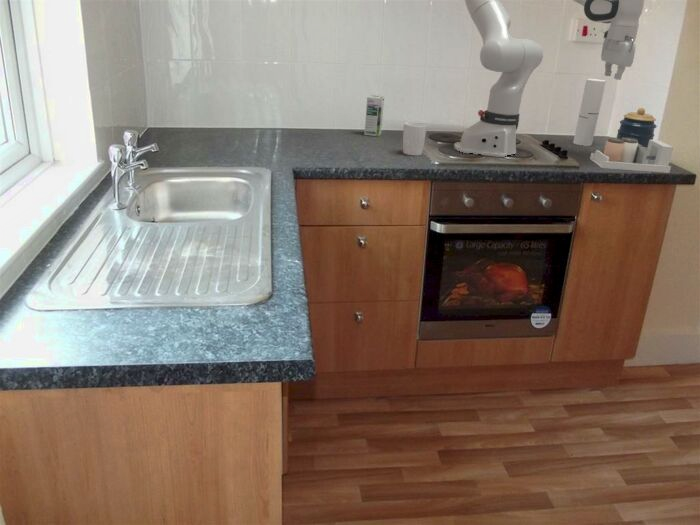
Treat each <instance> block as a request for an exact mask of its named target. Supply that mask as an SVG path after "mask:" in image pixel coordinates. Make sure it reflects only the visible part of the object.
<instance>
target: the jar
mask: <svg viewBox="0 0 700 525" xmlns="http://www.w3.org/2000/svg"><path fill="white" fill-rule="evenodd" d="M624 145H625V143H624V139H621V138H617V137H613V136H609V137H608V139H607V140H606V141H605V145H604V150H603V154H605V155H606V156H608V157H609V161H610V162H621V157H622V153H623V149H624Z"/></svg>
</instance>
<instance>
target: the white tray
mask: <svg viewBox="0 0 700 525" xmlns="http://www.w3.org/2000/svg"><path fill="white" fill-rule="evenodd" d="M647 148H648V153H647V155H650V156H656V159H655V160H648V159H646V161H645V164H637V163H623V162H610V161H609V157H608V156H606V155H605V154H604V152H602V151H600V150H599V149H595V152H591V153H590V156H589V160H590V161H592V162H594V163H595V164H596V165H598V166H599V167H600V168H601V169H609V170H623V171H634V172H651V173H663V174H664V173H665V174H670V172H671V168H672V166H671V165H669V164H670V162H671V157H672V153H673V150H674V146H671V145H669V143H665V142H663V141H661V140H660V139H659V140H658V139H653V140H649V143H648V147H647Z"/></svg>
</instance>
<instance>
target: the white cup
mask: <svg viewBox="0 0 700 525" xmlns="http://www.w3.org/2000/svg"><path fill="white" fill-rule="evenodd" d="M427 130H428V124H425V123H424V122H416V121H409V122H408V121H406V122H404V123H403V135H402V138H403V139H402V153H403V154H405V155H408V156H422V155H423V149H424V146H425V142H426V136H427V135H426V134H427Z"/></svg>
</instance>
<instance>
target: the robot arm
mask: <svg viewBox="0 0 700 525" xmlns="http://www.w3.org/2000/svg"><path fill="white" fill-rule="evenodd" d="M572 1H573V2H575V3H577V4H579V5H581V6H583V12H584V15H585V16H586V19H588V20H590V21H591V22H594V23H602V24H609V28H608V29H607V30H606V31H604V33H603V43H602V49H601V54H600V57H601V61H603V62H605V64H604V69H605V70H604V76H606V77H611V75H612V72H613V70H612V67H613V65H616V66H617V71H616V73H614V77H613V79H614V80H617V81H620V80H621V79H622V76H623V73H624V72H625V71H626V68H631V67H632V66H633V63H634V59H635V53H636V44H635V42H636V39H637V36H638V30H639V22H640V21H639V20H640V18H641V15H642V13H643V10H644V3H645V0H572ZM464 2H465V5H466V8H467V12H468V13H469V15H470V18H471V20H472V22H473V23H474V25H475V27H476V29H477V31H478V32H479V35H480V37H481V39H482V47H481V49H480V53H479V60H480V63H481V65H482V67H483V68H485V69H486V70H488V71H491V72H492V71H493V72H494V73H495V72H496V73H501V74H500V76H499V78H498V80H497V81H496V82H495V83H494V84H493V85H492V86H491V87H490V89H489V90H490V91H489V97H488V102H487V110H483V109H482V110H481V109H480V110H478V111H477V115H478V116H479V121H477V122H476V123H474V124H473V125H470V126H469V127H467V128H465V129H464V131H463V133H462V135H461V138H460V141H457V142H455V143H454V144H453V148H454V150H456V151H457V152H459V151H460V153H462V152H463V154H469V153H473V154H472V155H478V154H481V155H480V156H487V157H497V158H506V157H508V156H507V155H511V154H515V153H516V154H517V143H516V141H517V130H518V127H519V122H520V107H521V103H522V97H523V93H524V91H525V87H526V84H527V82H528V80H529V78H530V77H531V75H532V74H533V72H534V70H536V69H537V68H538V67H539V66H540V65H541V63H542V61H543V58H544V51H543V48H542V45H541V44H540V43H539V42H537V41H535V40H532V39H530V38H514V37H513V36H512V35H511V34H510V31H509V28H510V27H511V24H512V19H511V17H510V16H509V13H508V11H507V10H506V8H505V7H504V5H503V4H502V1H501V0H464ZM516 154H515V155H516ZM505 156H506V157H505ZM511 156H512V155H511Z"/></svg>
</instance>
